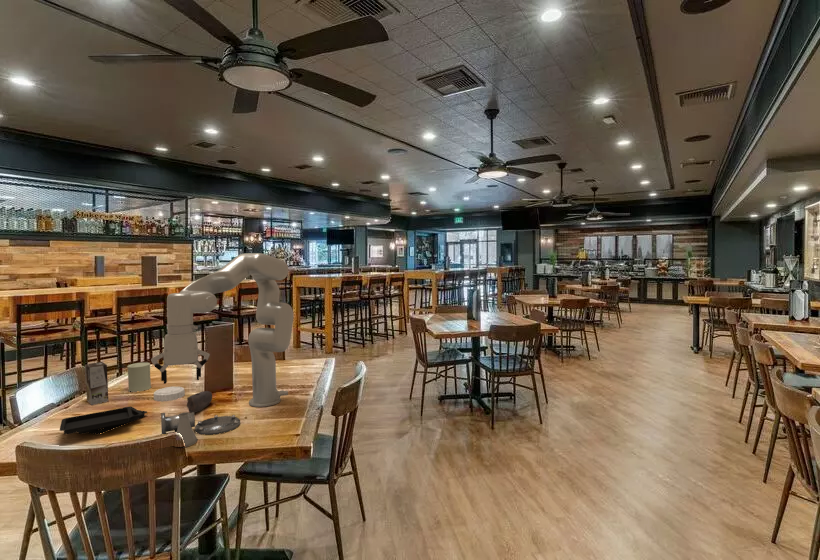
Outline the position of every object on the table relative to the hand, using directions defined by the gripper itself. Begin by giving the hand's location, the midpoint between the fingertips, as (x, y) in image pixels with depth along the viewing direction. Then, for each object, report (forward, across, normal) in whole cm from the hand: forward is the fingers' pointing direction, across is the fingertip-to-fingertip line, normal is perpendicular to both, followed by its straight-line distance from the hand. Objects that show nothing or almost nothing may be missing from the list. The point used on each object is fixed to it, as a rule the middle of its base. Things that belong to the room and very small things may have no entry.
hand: (181, 381), depth 144 cm
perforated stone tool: (+20, -5, -32) cm, 38 cm away
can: (+20, +20, -75) cm, 80 cm away
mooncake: (+20, +7, -55) cm, 59 cm away
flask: (+20, -1, +3) cm, 21 cm away
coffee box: (+20, +35, -63) cm, 75 cm away
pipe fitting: (+20, -6, -8) cm, 22 cm away
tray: (+21, +26, -26) cm, 42 cm away
